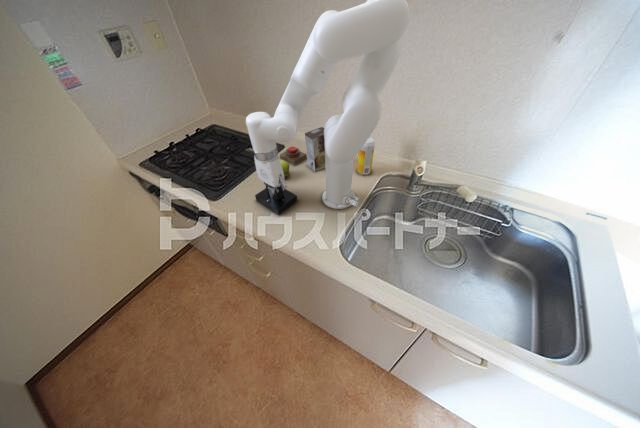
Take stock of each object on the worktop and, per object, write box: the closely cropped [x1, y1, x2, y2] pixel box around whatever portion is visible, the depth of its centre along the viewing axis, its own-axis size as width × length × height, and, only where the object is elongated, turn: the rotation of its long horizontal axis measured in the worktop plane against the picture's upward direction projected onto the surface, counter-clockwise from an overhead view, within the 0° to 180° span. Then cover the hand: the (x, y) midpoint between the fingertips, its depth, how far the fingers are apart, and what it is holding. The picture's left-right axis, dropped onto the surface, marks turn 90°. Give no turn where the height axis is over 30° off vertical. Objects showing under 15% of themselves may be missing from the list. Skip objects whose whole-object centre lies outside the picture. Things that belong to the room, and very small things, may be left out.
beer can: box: [356, 136, 376, 176], centre depth 99 cm, size 6×6×15 cm
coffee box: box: [304, 126, 325, 173], centre depth 104 cm, size 9×6×16 cm
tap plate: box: [254, 187, 298, 216], centre depth 92 cm, size 13×10×3 cm
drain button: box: [287, 146, 297, 153], centre depth 111 cm, size 4×4×2 cm
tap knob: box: [267, 184, 280, 199], centre depth 89 cm, size 4×4×5 cm
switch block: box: [279, 147, 307, 166], centre depth 113 cm, size 10×8×4 cm
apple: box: [279, 158, 290, 178], centre depth 102 cm, size 8×9×8 cm
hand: (275, 194), depth 90 cm, fingers closed on tap knob, 4 cm apart
